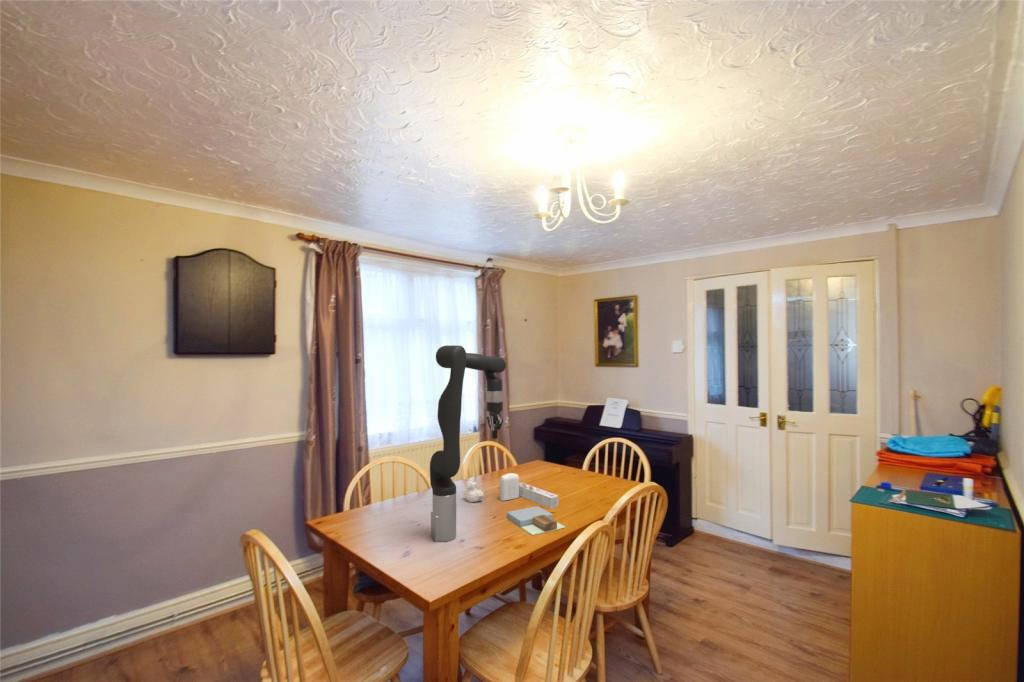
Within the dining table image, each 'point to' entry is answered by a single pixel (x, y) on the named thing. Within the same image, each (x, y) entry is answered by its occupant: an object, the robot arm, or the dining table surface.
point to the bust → (473, 492)
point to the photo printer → (509, 486)
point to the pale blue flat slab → (527, 515)
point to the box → (538, 495)
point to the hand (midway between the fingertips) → (494, 438)
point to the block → (544, 523)
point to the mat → (535, 530)
